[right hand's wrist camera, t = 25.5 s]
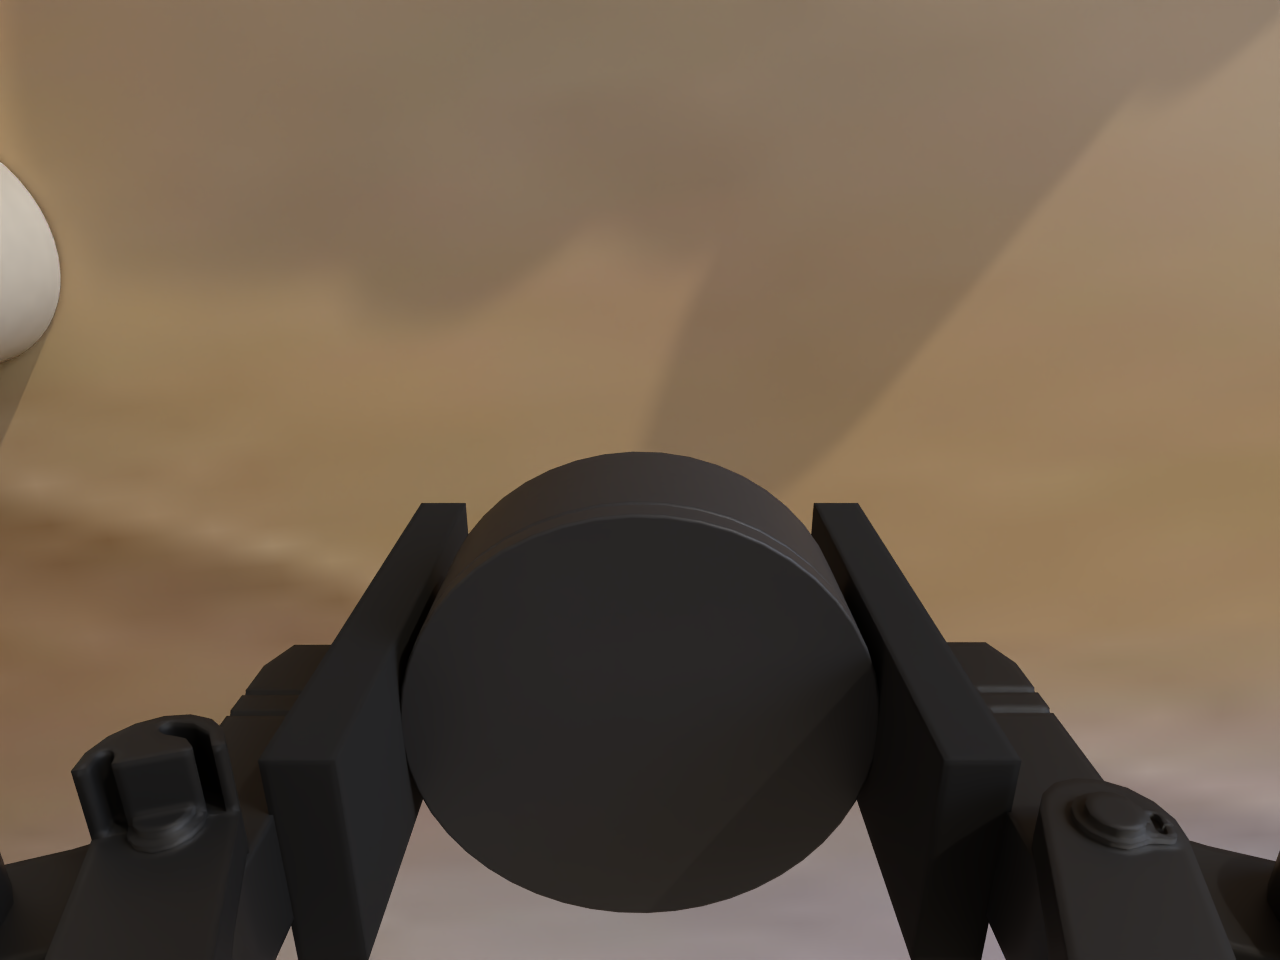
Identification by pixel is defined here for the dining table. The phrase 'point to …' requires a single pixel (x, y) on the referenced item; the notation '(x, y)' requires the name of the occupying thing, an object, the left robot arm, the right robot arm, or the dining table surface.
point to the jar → (24, 269)
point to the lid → (639, 688)
